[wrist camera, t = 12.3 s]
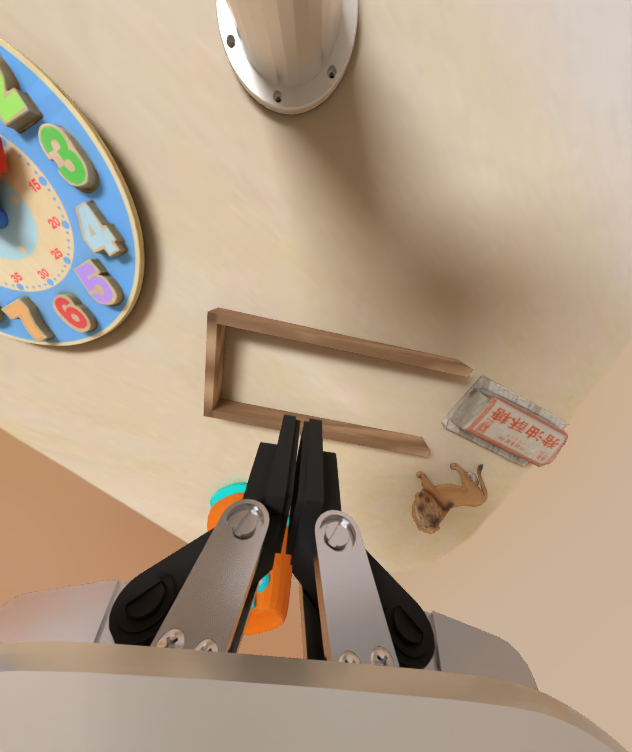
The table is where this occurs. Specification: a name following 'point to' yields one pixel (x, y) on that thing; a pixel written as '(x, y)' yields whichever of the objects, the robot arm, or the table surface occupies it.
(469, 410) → the packaged product
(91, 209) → the shape sorting clock
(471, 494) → the lion figurine
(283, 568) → the toy shoe
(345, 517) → the robot arm
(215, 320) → the open-ended wooden frame
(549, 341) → the table surface
